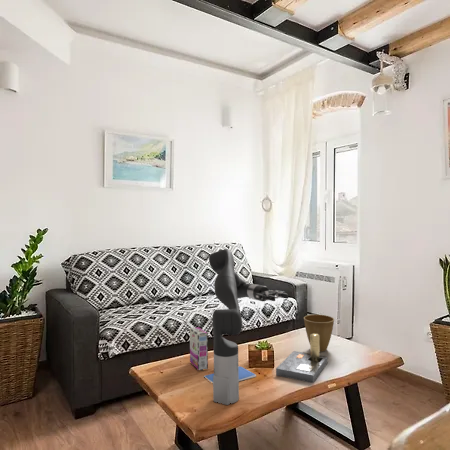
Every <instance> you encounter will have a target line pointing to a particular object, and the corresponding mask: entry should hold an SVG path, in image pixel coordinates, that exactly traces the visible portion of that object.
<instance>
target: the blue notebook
mask: <svg viewBox="0 0 450 450" xmlns="http://www.w3.org/2000/svg"><path fill="white" fill-rule="evenodd" d="M238 370H239V382H241V381H245V380H249V379H252V378H257V374H255V373H254V372H251V371H249V370H248V369H246V368H244V367H243V366H240V365H238ZM213 376H214V372H213V373H209V374H206V375H204V376H203V378H204V377H205V378H207V379H208V380H209V381H210V383H211V382H212V383H213ZM205 378H204V379H205ZM208 380H207V381H208ZM209 381H208V382H209ZM212 383H211V384H212Z"/></svg>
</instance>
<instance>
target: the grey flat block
mask: <svg viewBox="0 0 450 450" xmlns="http://www.w3.org/2000/svg"><path fill="white" fill-rule="evenodd" d="M327 364H328V356H327V355H322V354H320V362H316V361H311V357H310V353H308V352H303V351H297V350H293V351H292V352H291V353H290V354H289V355H288V356H287V357H286V358H285V359H284V360H283V361H282V362H280V364H279V365H278V366H277V367H275V376H277V377H283V378H287V379H292V380H296V381H297V380H298V381H303V382H308V383H312V384H313V383H314V382H315V381H316V380H317V378H318V377H319V375H320V374H321V373H322V371H324V368H325V367H326V365H327Z"/></svg>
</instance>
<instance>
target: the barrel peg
mask: <svg viewBox="0 0 450 450" xmlns="http://www.w3.org/2000/svg"><path fill="white" fill-rule="evenodd" d="M309 346H310V347H309V348H310V357H311V361H316V362H320V355H321V352H320V347H319V334H310V343H309Z"/></svg>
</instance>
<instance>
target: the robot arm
mask: <svg viewBox="0 0 450 450" xmlns="http://www.w3.org/2000/svg"><path fill="white" fill-rule="evenodd" d="M208 261H209V264H210V265H209V266H210V268H211V269H212V271H213V272H214V273H215V274H217V276H216V277H215V280H214V294H215V295H214V296H215V297H216V298H217V299H218V300H219V302H220V303H222V305H224V306H225V307H226V308H225V309H224V308H223V309H222V308H221V309H214V310H213V313H212V334H213V373H214V376H213V384H212V388H213V389H212V393H213V394H212V395H213V397H212V398H213V399H212V400H213V401H214V402H213V401H212V402H213V403H217V402H218V403H217V404H221V403H222V405H226V406H229V405H231V404H235V403H237V402H238V401H239V399H240V396H239V395H240V393H239V391H240V386H239V384H240V383H239V382H240V381H239V370H238V367H239V345H238V344H237V343H236V342H234V341H231V340H228V339H226V338H225V337H224V336H228V335H234V336H235V335H238V334H241V331H242V329H243V319H242V313H241V309H240V305H239V299H242V298H249V299H252V300H254V301H255V300H256V301H260V302H267V301H271V302H275V301H276V299H279V298H281V299H287V300H288V299H289V294H288V293H286V291H284V290H283V291H282V290H277V289H275V290H272V289H271V290H270V289H269V288H268V287H267V286H266V285H261V284H255V283H254V284H253V283H249V282H248V283H247V282H246V280H245V279H243V278H241V277H239V275H238V273H237V272H236V271H235V260H234V256H233V253H232V251H231V250H230V249H229V248H224V249H221V250H219V251H215V252H213V253H211V254H209V255H208ZM230 403H231V404H230Z"/></svg>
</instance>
